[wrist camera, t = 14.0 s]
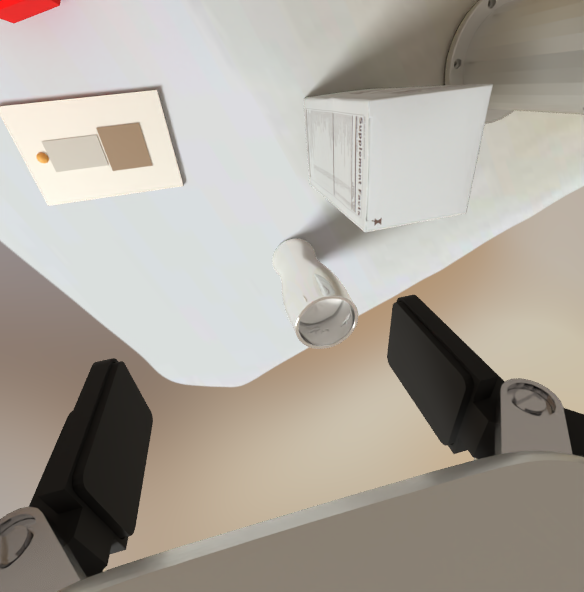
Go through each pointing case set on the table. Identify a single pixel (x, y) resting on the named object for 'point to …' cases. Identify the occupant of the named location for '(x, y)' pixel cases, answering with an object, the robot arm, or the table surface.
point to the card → (95, 145)
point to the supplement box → (396, 151)
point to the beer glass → (313, 296)
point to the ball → (24, 8)
